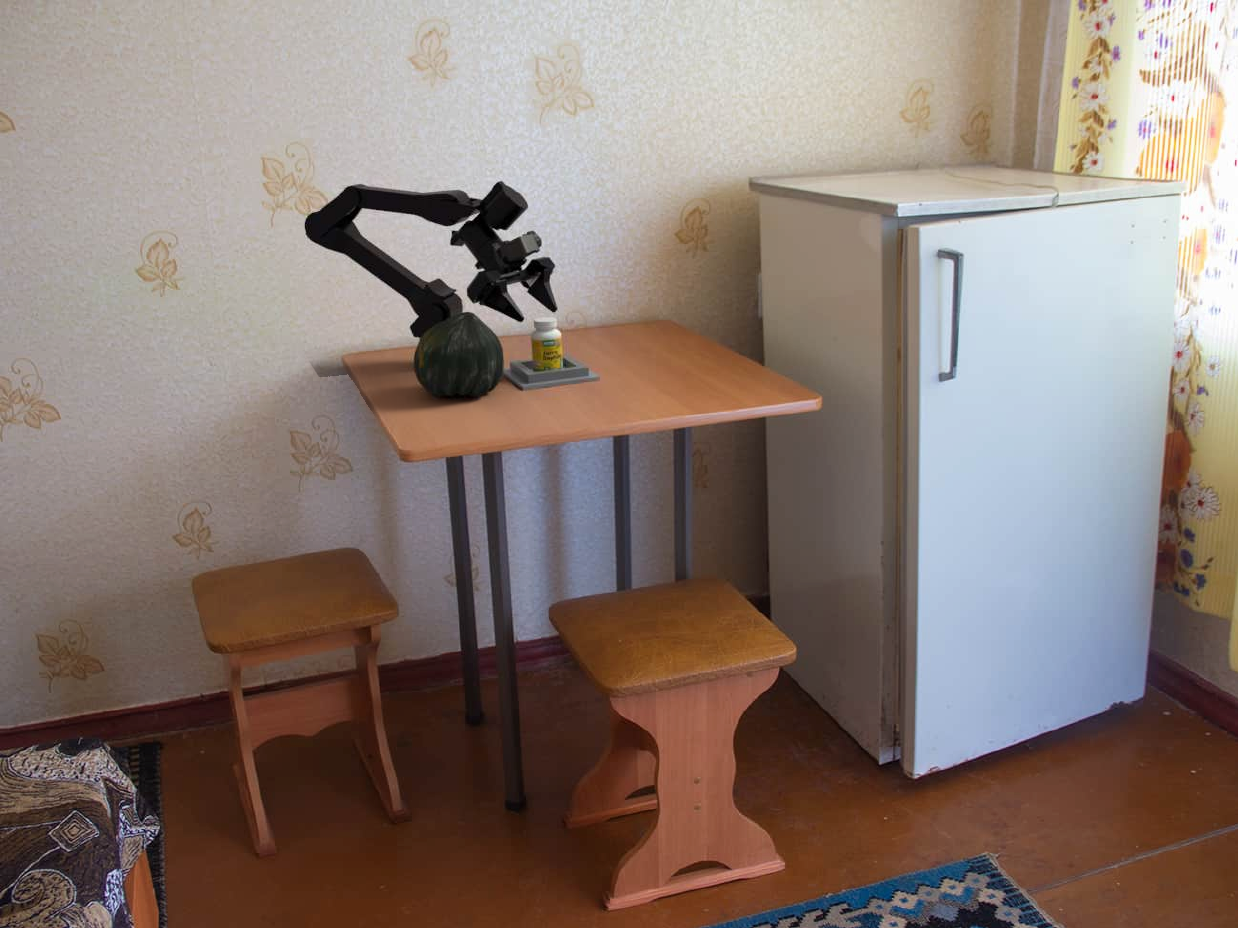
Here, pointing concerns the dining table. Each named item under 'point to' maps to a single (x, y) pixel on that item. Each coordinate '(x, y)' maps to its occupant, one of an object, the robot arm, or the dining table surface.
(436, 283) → the robot arm
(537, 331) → the supplement bottle
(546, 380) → the tray
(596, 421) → the dining table surface
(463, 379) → the squash
